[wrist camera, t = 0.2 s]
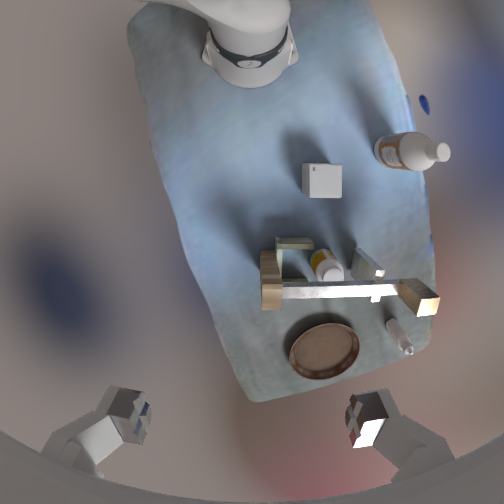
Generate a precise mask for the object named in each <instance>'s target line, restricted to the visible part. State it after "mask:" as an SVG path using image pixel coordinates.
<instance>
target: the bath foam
mask: <svg viewBox="0 0 504 504" xmlns="http://www.w3.org/2000/svg"><path fill="white" fill-rule="evenodd" d="M374 153H375V157H376V159H377V161H378V162H379V163H380V164H381V165H382V166H384V167H387V168H393V169H403V170H411V171H423V170H425V169H428V168H429V167H431V166H432V165H433V163H434V162H435V161H442V162H444V161H447V160H448V159H449V157H450V149H449V147H448V145H447V144H445V143H443V142H433V141H432V140H431V139H430V138H429V137H428V136H426V135H425V134H422V133H419V132H406V133H399V134H391V135H385V136H382V137H380V138H379V139H378V140H377V141H376V143H375V147H374Z"/></svg>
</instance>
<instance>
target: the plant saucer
mask: <svg viewBox="0 0 504 504" xmlns="http://www.w3.org/2000/svg"><path fill="white" fill-rule="evenodd" d="M359 352H360V340H359V337H358V335H357V334H356V332H355V331H354V330H353V329H351V328H350V327H348V326H346V325H343V324H338V323H325V324H320V325H317V326H315V327H312V328H310V329H309V330H307V331H305V332H304V333H303V334H302V335H300V336H299V337H298V339H297V340H296V341H295V342H294V344H293V346H292V348H291V350H290V355H289V361H290V365H291V367H292V369H293V370H294V371H295V372H296V373H297V374H298V375H300V376H301V377H303V378H306V379H310V380H326V379H330V378H333V377H336V376H338V375H340V374H342V373H343V372H345V371H346V370H348V369H349V368H350V367H351V366H352V365H353V363H354V362H355V361H356V359H357V357H358V355H359Z"/></svg>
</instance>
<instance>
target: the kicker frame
mask: <svg viewBox="0 0 504 504" xmlns="http://www.w3.org/2000/svg"><path fill="white" fill-rule="evenodd" d="M282 249H314V243H313V242H312V240H311V239H310V237H275V250H260V281H261V301H262V310H281V305H282V285H283V284H282V282H308V280H307V278H281V274H282Z"/></svg>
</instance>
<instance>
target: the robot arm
mask: <svg viewBox="0 0 504 504" xmlns="http://www.w3.org/2000/svg"><path fill="white" fill-rule="evenodd" d="M134 1H141V2H157V3H164V4H169V5H173V6H177V7H180V8H183V9H185V10H188V11H190V12H192V13H194V14H197V15H198V16H200V17H202V18H204V19H205V20H206V21H207V22H208V26H209V27H210V31H209V32H207V36H206V37H207V41H206V44H205V48H204V51H203V55H202V60H203V62H204V63H205V64H207V65H209V66H211V67H213V68H214V69H215V70H216V71H217V72H218V73H219V75H220V76H221V77H222V78H223V79H224V80H226V81H227V82H229V83H231V84H233V85H235V86H239V87H244V88H256V87H261V86H265V85H267V84H269V83H271V82H273V81H274V80H276V79H277V78H278V77H279V76H280V75H281V74H282V72H283V71H284V70H285V69H286V68H287V67H289V66H291V65H293V64H294V63H296V62H297V61H298V52H297V49H296V45H295V42H294V38H293V35H292V32H291V28H290V25H289V22H288V19H289V15H290V10H291V7H290V2H289V0H134ZM292 52H293V53H292ZM146 399H147V397H146V394H145V392H142V391H136V390H131V389H127V388H122V387H116V386H109V387H108V389H107V390H106V392H105V394H104V396H103V398H102V400H101V401H100V403H99V405H98V407H97V409H96V410H95V411H91V412H89V413H87V414H86V415H84V416H82V417H80V418H78V419H77V420H75V421H73V422H71V423H69V424H67V425H65V426H64V427H62V428H60V429H58V430H56V431H54V432H52V434H51V436H50V438H49V439H48V441H47V442H46V444H45V446H44V448H43V450H42V451H41V453H40V452H38V451H36V450H34V449H32V448H30V447H28V446H27V445H25V444H23V443H21V442H20V441H18V440H16V439H14V438H13V437H11V436H9V435H8V434H6V433H4V432H3V431H1V430H0V504H504V433H503V434H501V435H500V436H498V437H497V438H495V439H493V440H491V441H490V442H488V443H486V444H485V445H483V446H481V447H479V448H477V449H475V450H473V451H471V452H469V453H468V454H465V455H463V456H461V457H459V458H457V459H455V458H454V456H453V454H452V452H451V450H450V448H449V446H448V444H447V442H446V440H445V438H443V437H441V436H440V435H438V434H436V433H434V432H433V431H431V430H429V429H427V428H426V427H424V426H422V425H421V424H419V423H417V422H415V421H414V420H412V419H411V418H409V417H407V416H406V415H401V414H400V412H399V410H398V408H397V406H396V404H395V402H394V400H393V398H392V396H391V394H390V392H389V390H388V389H380V390H375V391H368V392H362V393H355V394H352V396H351V397H350V403H351V404H350V405H349V406H348V407H347V409H346V412H345V422H346V426H347V428H348V429H349V430H351V434H350V440H351V442H352V446H353V448H357V447H363V446H368V445H372V446H373V447H374V448H375V449H376V450H378V451H379V452H380V453H381V454H382V455H383V456H384V457H386V458H387V459H388V460H389V461H390V462H391V463H393V464H394V465H395V466H396V467H397V468H399V471H398V472H397V473H396V474H395V475H394V476H393V478H392V479H391V482H392V483H391V484H387V485H383V486H380V487H376V488H372V489H368V490H364V491H359V492H354V493H350V494H344V495H338V496H333V497H327V498H319V499H310V500H301V501H289V502H269V503H268V502H265V503H245V502H222V501H208V500H200V499H191V498H184V497H177V496H171V495H166V494H161V493H155V492H151V491H146V490H142V489H138V488H134V487H130V486H126V485H122V484H119V483H116V482H112V481H109V480H106V479H103V477H104V475H103V473H102V472H101V470H100V469H99V468H98V467H97V466H96V465H97V464H98V463H99V462H100V461H102V460H103V459H104V458H105V457H107V456H108V455H109V454H110V453H112V452H113V451H114V450H115V449H116V448H118V447H119V446H120V445H121V444H122V443H124V442H129V443H134V444H139V445H143V442H144V439H145V436H146V431H145V429H144V428H146V427H147V426H149V424H150V421H151V408H150V405H149V404H148V403H147V402H146ZM123 441H124V442H123Z"/></svg>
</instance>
